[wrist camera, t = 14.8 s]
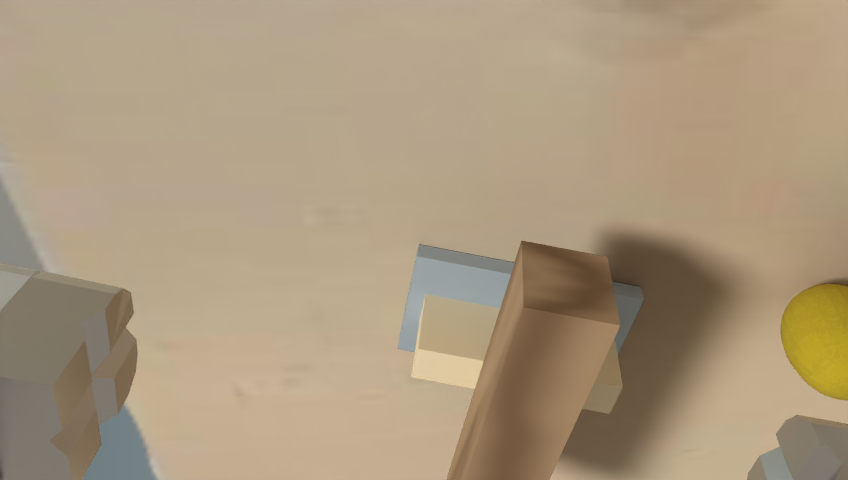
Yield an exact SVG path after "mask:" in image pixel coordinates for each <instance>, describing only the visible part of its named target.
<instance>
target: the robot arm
mask: <svg viewBox="0 0 848 480" xmlns="http://www.w3.org/2000/svg"><path fill="white" fill-rule="evenodd" d="M133 314H134V311H133V304H132V297H131V292H129V291H127V290H125V289H124V288H119V287H114V286H110V285H105V284H100V283H96V282H91V281H86V280H82V279H77V278H72V277H68V276H63V275H58V274H54V273H49V272H44V271H42V272H40V271H35V270H31V269H26V268H21V267H17V266H12V265H7V264H3V263H0V480H82V478H83V477H84V475H85V473H86V471H87V469H88V468H89V466H90V464H91V462H92V460H93V459H94V457H95V455H96V453H97V452H98V450H99V448H100V446H101V437H100V430H99V425H100V424H102V423H104V422H105V421H107V420H109V419H110V418H112V417H114V416H115V415H117V414H118V413H119V411H120V409H121V407H122V406H123V404H124V402H125V400H126V398H127V396H128V394H129V391H130V388H131V385H132V381H133V378H134V375H135V372H136V363H137V341H136V339H135V337H134V336H133V335H132V334H131V333H130V332H129V331H128V330H127V328H126V325H127V323H128V322H129V320H130V319H131V317H132V315H133ZM776 436H777V439H778V442H779V446H780V447H778V448H776V449H774V450H772V451H769V452H767V453H765V454H763V455H760V456H759V458H758V459H757V461H756V462H755V464H754V465H753V467H752V468H751V470H750V471H749V473H748V478H747V480H848V424H845V423H839V422H834V421H828V420H823V419H817V418H811V417H806V416H800V415H796V416H794V417H792V418H790V419H788V420H786V421H785V422H784V424H783V425H782V426H781V428H780V429H779V430H778V432H777V433H776Z"/></svg>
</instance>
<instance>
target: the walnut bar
mask: <svg viewBox="0 0 848 480" xmlns="http://www.w3.org/2000/svg"><path fill="white" fill-rule="evenodd" d="M619 328H620V321H619V316H618V310H617V305H616V299H615V294H614V289H613V283H612V278H611V273H610V267H609V262H608V257H604V256H599V255H594V254H589V253H584V252H578V251H573V250H568V249H563V248H557V247H552V246H547V245H542V244H537V243H531V242H526V241H521V244H520V247H519V250H518V254H517V257H516V260H515V263H514V266H513V270H512V273H511V276H510V279H509V282H508V285H507V289H506V292H505V295H504V298H503V301H502V304H501V308H500V311H499V314H498V317H497V320H496V324H495V327H494V330H493V333H492V336H491V339H490V343H489V346H488V349H487V352H486V355H485V358H484V362H483V365H482V368H481V371H480V374H479V378H478V381H477V384H476V387H475V390H474V393H473V397H472V400H471V403H470V406H469V409H468V412H467V416H466V419H465V422H464V425H463V428H462V431H461V435H460V438H459V441H458V444H457V447H456V451H455V454H454V457H453V460H452V463H451V466H450V470H449V473H448V476H447V480H550V477H551V475H552V473H553V471H554V469H555V467H556V464H557V462H558V460H559V458H560V456H561V453H562V451H563V449H564V447H565V445H566V443H567V440H568V438H569V436H570V434H571V432H572V430H573V427H574V425H575V423H576V421H577V419H578V417H579V414H580V412H581V410H582V408H583V406H584V404H585V401H586V399H587V397H588V395H589V393H590V391H591V388H592V386H593V384H594V382H595V380H596V377H597V375H598V373H599V371H600V369H601V367H602V364H603V362H604V360H605V358H606V356H607V354H608V351H609V349H610V347H611V345H612V343H613V341H614V338H615V336H616V334H617V332H618V330H619Z"/></svg>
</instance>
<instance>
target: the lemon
mask: <svg viewBox="0 0 848 480" xmlns="http://www.w3.org/2000/svg"><path fill="white" fill-rule="evenodd" d="M781 339H782V343H783V346H784V350H785V353H786V355H787V358H788V359H789V361H790V363H791V364H792V366H793V367H794V369H795V370H796V371H797V372H798V374H799V375H800V376H801V377H802V378H803V380H804V381H805V382H806V383H807V384H808V385H810V386H811V387H812V388H814V389H815V390H817V391H818V392H820V393H822V394H824V395H826V396H829V397H832V398H835V399H840V400H848V286H844V285H840V284H823V285H817V286H814V287H811V288H808V289H806V290H804V291H802V292H801V293H799V294H798V295H797V296H796V297H794V298H793V299H792V301H791V302H790V303H789V304H788V306H787V307H786V309H785V312H784V314H783V317H782V321H781Z"/></svg>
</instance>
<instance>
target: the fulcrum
mask: <svg viewBox="0 0 848 480" xmlns="http://www.w3.org/2000/svg"><path fill="white" fill-rule="evenodd" d="M513 266H514V263H513V262H508V261H503V260H498V259H492V258H487V257H482V256H477V255H472V254H466V253H461V252H456V251H451V250H446V249H440V248H435V247H430V246H425V245H419V247H418V252H417V256H416V261H415V266H414V271H413V275H412V280H411V285H410V290H409V294H408V299H407V304H406V309H405V314H404V318H403V323H402V328H401V333H400V338H399V344H398V349H401V350H406V351H411V352H415V355H414V362H413V369H412V377H414V378H419V379H425V380H430V381H435V382H441V383H446V384H451V385H457V386H462V387H467V388H473V389H475V387H476V384H477V381H478V378H479V374H480V371H481V368H482V365H483V362H484V358H485V355H486V352H487V349H488V346H489V343H490V339H491V336H492V333H493V330H494V327H495V324H496V320H497V317H498V314H499V311H500V308H501V304H502V301H503V298H504V295H505V292H506V289H507V285H508V282H509V279H510V276H511V273H512V270H513ZM612 283H613V289H614V294H615V299H616V305H617V310H618V316H619V321H620V328H619V330H618V332H617V334H616V336H615V338H614V341H613V343H612V345H611V347H610V349H609V351H608V354H607V356H606V358H605V360H604V362H603V364H602V367H601V369H600V371H599V373H598V375H597V377H596V380H595V382H594V384H593V386H592V388H591V391H590V393H589V395H588V397H587V399H586V401H585V404H584V406H583V408H582V409H585V410H591V411H596V412H601V413H607V414H610V412H611V410H612V408H613V406H614V404H615V402H616V400H617V398H618V396H619V394H620V392H621V390H622V388H623V384H622V378H621V372H620V366H619V361H618V354H619V352H620V350H621V348H622V345H623V343H624V341H625V339H626V337H627V335H628V333H629V331H630V329H631V327H632V324H633V322H634V320H635V318H636V316H637V314H638V312H639V310H640V308H641V306H642V303H643V301H644V297H643V293H642V288H641V287H638V286H633V285H628V284H623V283H617V282H612Z"/></svg>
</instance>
